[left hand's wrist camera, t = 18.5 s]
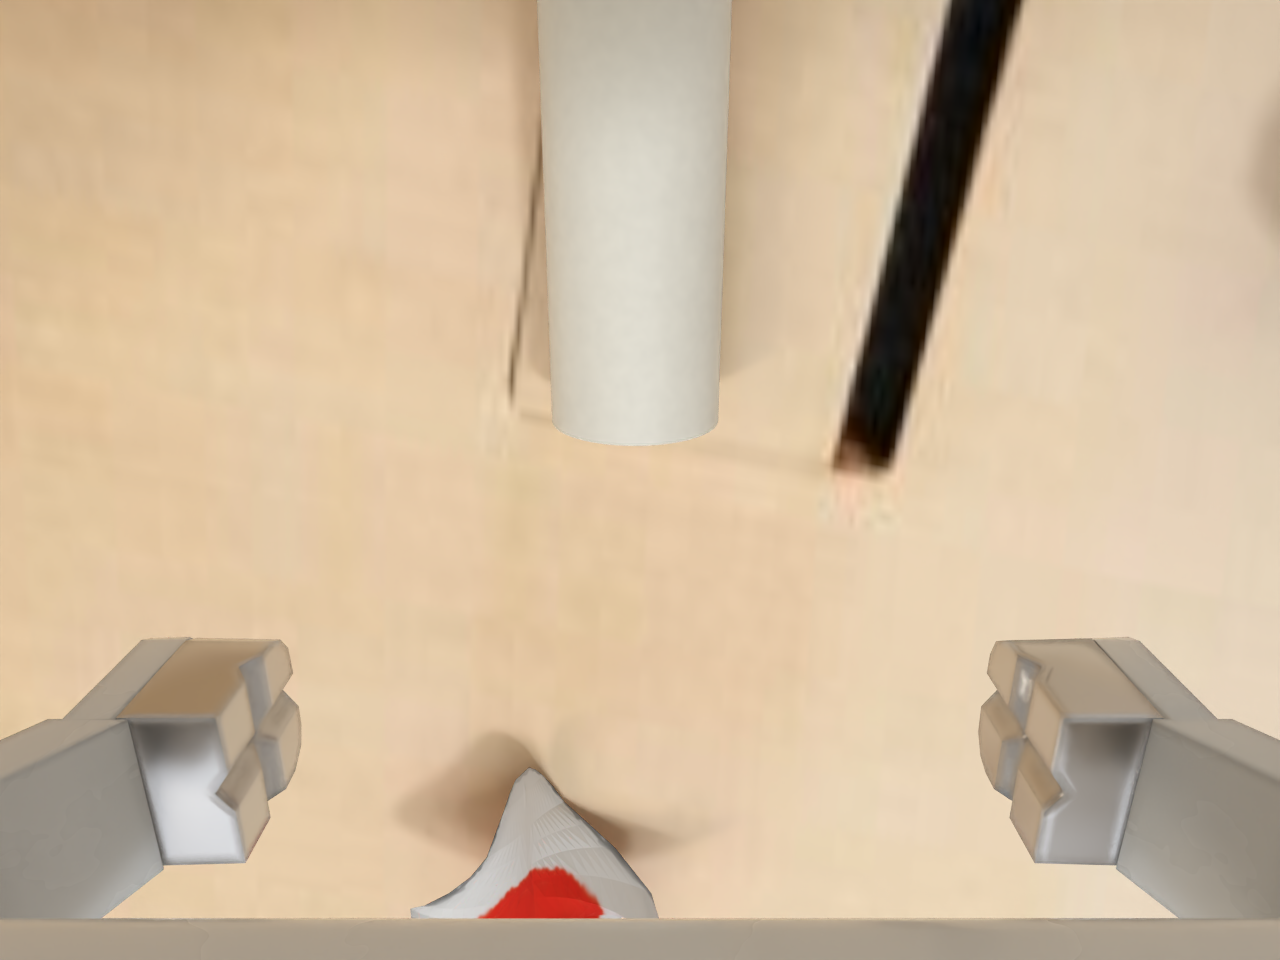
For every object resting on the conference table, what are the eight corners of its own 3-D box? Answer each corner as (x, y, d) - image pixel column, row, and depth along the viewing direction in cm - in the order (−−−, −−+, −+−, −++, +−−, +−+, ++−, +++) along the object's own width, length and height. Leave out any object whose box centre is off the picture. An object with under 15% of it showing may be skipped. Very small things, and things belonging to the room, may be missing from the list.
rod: (711, 397, 36) (724, 446, 30) (559, 396, 36) (544, 446, 30) (735, -376, 27) (760, -511, 21) (534, -375, 27) (505, -511, 21)
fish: (346, 1057, 42) (384, 1217, 33) (422, 728, 44) (478, 797, 35) (554, 1046, 47) (636, 1184, 38) (617, 749, 48) (711, 815, 39)
